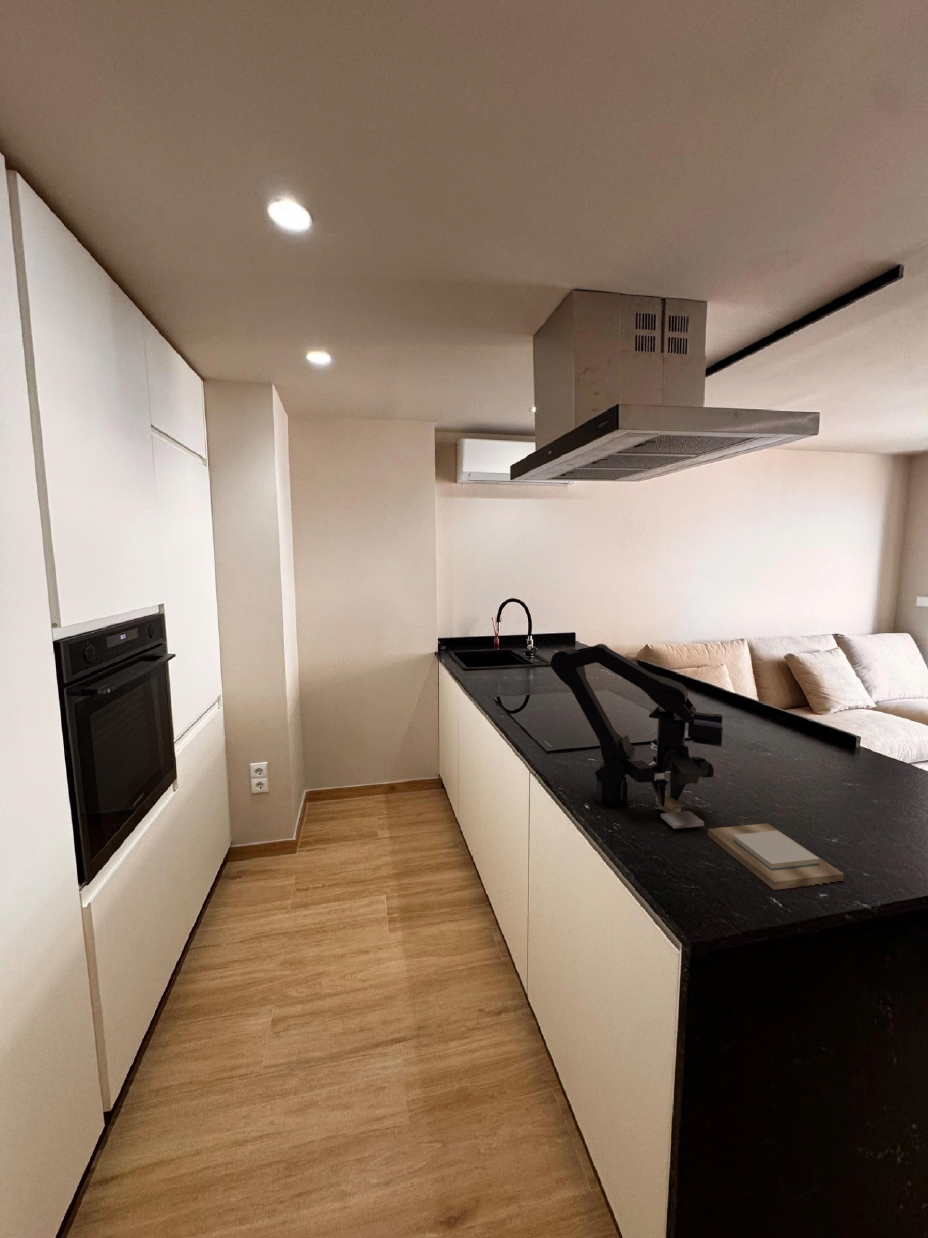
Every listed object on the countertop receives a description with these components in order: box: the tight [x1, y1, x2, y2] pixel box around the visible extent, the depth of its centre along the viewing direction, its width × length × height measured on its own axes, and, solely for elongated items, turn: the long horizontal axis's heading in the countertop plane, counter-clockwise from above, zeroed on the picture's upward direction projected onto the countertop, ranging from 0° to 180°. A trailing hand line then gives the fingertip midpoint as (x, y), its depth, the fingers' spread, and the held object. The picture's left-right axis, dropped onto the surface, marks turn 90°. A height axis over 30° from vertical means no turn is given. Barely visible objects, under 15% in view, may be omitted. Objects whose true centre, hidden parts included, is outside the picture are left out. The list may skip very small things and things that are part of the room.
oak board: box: [707, 822, 844, 891], centre depth 98 cm, size 14×18×2 cm
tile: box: [733, 830, 820, 870], centre depth 97 cm, size 10×1×10 cm
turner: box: [655, 792, 705, 829], centre depth 112 cm, size 7×11×2 cm, turn 10°
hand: (667, 805), depth 115 cm, fingers closed on turner, 2 cm apart
